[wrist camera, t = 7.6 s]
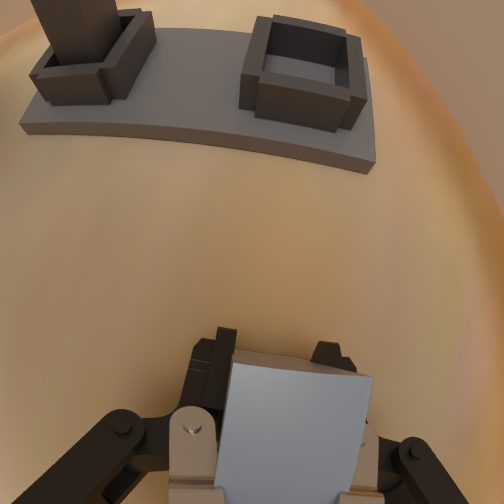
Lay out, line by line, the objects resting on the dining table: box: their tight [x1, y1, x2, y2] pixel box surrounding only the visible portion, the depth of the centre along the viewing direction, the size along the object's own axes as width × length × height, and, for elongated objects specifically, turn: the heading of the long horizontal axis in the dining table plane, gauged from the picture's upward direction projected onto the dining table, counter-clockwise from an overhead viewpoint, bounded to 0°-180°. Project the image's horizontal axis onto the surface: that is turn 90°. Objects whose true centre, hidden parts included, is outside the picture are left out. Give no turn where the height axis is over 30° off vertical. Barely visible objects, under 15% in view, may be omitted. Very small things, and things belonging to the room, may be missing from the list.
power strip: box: [19, 0, 376, 174], centre depth 15 cm, size 24×10×11 cm, turn 81°
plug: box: [214, 349, 373, 504], centre depth 11 cm, size 3×4×10 cm
